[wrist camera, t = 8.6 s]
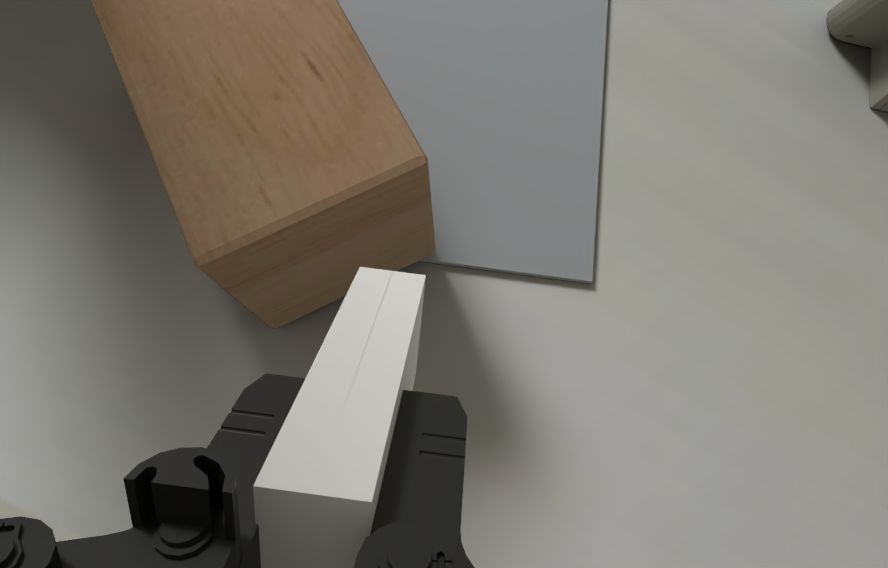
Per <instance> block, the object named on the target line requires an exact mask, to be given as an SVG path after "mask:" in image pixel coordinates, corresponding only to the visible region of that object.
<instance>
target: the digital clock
mask: <svg viewBox="0 0 888 568" xmlns="http://www.w3.org/2000/svg"><path fill="white" fill-rule="evenodd" d="M826 22H827V28H828V30H829V31H830V33H831V34H832V35H833V36H834V37H835V38H836V39H838V40H841V41H844V42H848V43H852V44H857V45H861V46H865V47H870V48H871V72H870V98H869V105H870V108H873V109H878V110H882V111H886V112H888V0H841V1H840V2H839V3H838V4H837V5H835V6H834V7H833V8H832V9H831V10H830V11H829V12H828V14H827V19H826Z"/></svg>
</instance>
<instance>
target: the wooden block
mask: <svg viewBox="0 0 888 568" xmlns="http://www.w3.org/2000/svg"><path fill="white" fill-rule="evenodd" d="M91 2H92V4H93V7H94V10H95V12H96V15H97V17H98V20H99V22H100V25H101V27H102V30H103V32H104V35H105V37H106V40H107V42H108V45H109V48H110V50H111V53H112V55H113V58H114V60H115V63H116V65H117V68H118V70H119V73H120V75H121V78H122V80H123V83H124V85H125V88H126V91H127V93H128V96H129V98H130V101H131V103H132V106H133V108H134V111H135V113H136V116H137V118H138V121H139V123H140V126H141V129H142V131H143V134H144V136H145V139H146V141H147V144H148V146H149V149H150V151H151V154H152V156H153V159H154V161H155V164H156V166H157V169H158V172H159V174H160V177H161V179H162V182H163V184H164V187H165V189H166V192H167V194H168V197H169V199H170V202H171V204H172V207H173V210H174V212H175V215H176V217H177V220H178V222H179V225H180V227H181V230H182V232H183V235H184V237H185V240H186V242H187V245H188V247H189V250H190V253H191V255H192V258H193V260H194V263H195V265H196V266H197V267H198V268H200V269H201V270H202V271H203V272H204V273H205V274H207V275H208V276H209V277H210V278H211V279H213V280H214V281H215V282H216V283H218V284H219V285H220V286H221V287H222V288H224V289H225V290H226V291H227V292H229V293H230V294H231V295H232V296H233V297H235V298H236V299H237V300H238V301H239V302H241V303H242V304H243V305H244V306H246V307H247V308H248V309H249V310H250V311H252V312H253V313H254V314H255V315H256V316H258V317H259V318H260V319H261V320H263V321H264V322H265V323H266V324H267V325H269V326H270V327H271V328H279V327H282V326H284V325H286V324H288V323H290V322H292V321H294V320H296V319H298V318H300V317H302V316H304V315H307V314H309V313H311V312H313V311H315V310H317V309H319V308H321V307H323V306H325V305H327V304H329V303H332V302H334V301H336V300H338V299H340V298H342V297H344V296H346V294H347V292H348V290H349V288H350V286H351V284H352V282H353V280H354V278H355V276H356V274H357V272H358V270H359V268H360V267H366V268H374V269H382V270H389V271H398V270H400V269H402V268H405V267H407V266H409V265H411V264H413V263H415V262H417V261H419V260H421V259H423V258H425V257H428V256H430V255H431V254H432V253H433V252H434V251H435V250H436V247H435V235H434V224H433V213H432V201H431V190H430V179H429V167H428V158H427V156H426V155H425V153H424V151H423V149H422V148H421V146H420V144H419V142H418V141H417V139H416V137H415V135H414V134H413V132H412V130H411V128H410V127H409V125H408V123H407V121H406V120H405V118H404V116H403V114H402V113H401V111H400V109H399V107H398V106H397V104H396V102H395V100H394V99H393V97H392V95H391V93H390V92H389V90H388V88H387V86H386V85H385V83H384V81H383V79H382V78H381V76H380V74H379V72H378V70H377V69H376V67H375V65H374V63H373V62H372V60H371V58H370V56H369V55H368V53H367V51H366V49H365V48H364V46H363V44H362V42H361V41H360V39H359V37H358V35H357V34H356V32H355V30H354V28H353V27H352V25H351V23H350V21H349V20H348V18H347V16H346V14H345V13H344V11H343V9H342V7H341V6H340V4H339V2H338V0H91Z"/></svg>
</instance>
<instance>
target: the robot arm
mask: <svg viewBox="0 0 888 568" xmlns="http://www.w3.org/2000/svg"><path fill="white" fill-rule="evenodd" d="M425 279H426V275H421V274H413V273H405V272H397V271H389V270H382V269H374V268H366V267H360V268H359V270H358V272H357V274H356V276H355V278H354V280H353V282H352V284H351V286H350V288H349V290H348V292H347V294H346V296H345V298H344V301H343V303H342V305H341V307H340V309H339V311H338V313H337V315H336V317H335V319H334V321H333V323H332V325H331V327H330V329H329V331H328V333H327V335H326V337H325V339H324V342H323V344H322V346H321V348H320V350H319V352H318V354H317V356H316V358H315V360H314V362H313V364H312V366H311V368H310V370H309V372H308V374H307V376H306V378H305V379H303V378H295V377H288V376H280V375H273V374H265V375H264V376H262V377H261V378H259V379H258V380H257V381H255V382H254V383H252V384H251V385H250V386H248V387H247V388H245V389H244V390H243V392H242V394H241V395H240V397H239V398H238V400H237V402H236V403H235V405H234V406H233V408H232V411H231V413H229V414H228V416H227V417H226V419H225V421H224V422H223V424H222V425H221V430H218V432H217V433H216V435H215V437H214V438H213V440H212V441H211V443H210V445H209V446H208V448H207V449H205V448H178V449H174V450H170V451H166V452H162V453H159V454H157V455H155V456H153V457H151V458H149V459H147V460H146V461H144V462H142V463H140V464H138V465H137V466H136V467H135V468H134V469H133V470H132V471H131V472H130V473H129V474H128V475H127V476H126V477H125V478H124V483H125V488H126V494H127V499H128V504H129V509H130V514H131V520H132V525H133V527H132V528H131V529H129V530H126V531H123V532H118V533H114V534H109V535H104V536H96V537H89V538H82V539H75V540H68V541H60V542H56V541H55V538H54V534H53V530H52V529H51V528H50V527H48V526H47V525H46V524H44V523H43V522H42V521H41V520H37V519H32V518H26V517H13V518H5V519H0V568H474V566H473V565H472V563H471V562H470V560H469V559H468V558H467V556H466V554H465V551H464V548H463V546H462V543H461V533H460V527H461V510H462V494H463V478H464V459H465V445H466V443H465V442H466V429H467V415H466V413H465V412H464V410H463V408H462V406H461V404H460V402H459V400H458V398H457V397H454V396H446V395H439V394H431V393H423V392H416V391H413V386H414V381H415V376H416V368H417V358H418V349H419V339H420V329H421V319H422V309H423V299H424V289H425Z"/></svg>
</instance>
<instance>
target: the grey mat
mask: <svg viewBox="0 0 888 568" xmlns="http://www.w3.org/2000/svg"><path fill="white" fill-rule="evenodd" d="M338 2H339V4H340V6H341V7H342V9H343V11H344V13H345V14H346V16H347V18H348V20H349V21H350V23H351V25H352V27H353V28H354V30H355V32H356V34H357V35H358V37H359V39H360V41H361V42H362V44H363V46H364V48H365V49H366V51H367V53H368V55H369V56H370V58H371V60H372V62H373V63H374V65H375V67H376V69H377V70H378V72H379V74H380V76H381V78H382V79H383V81H384V83H385V85H386V86H387V88H388V90H389V92H390V93H391V95H392V97H393V99H394V100H395V102H396V104H397V106H398V107H399V109H400V111H401V113H402V114H403V116H404V118H405V120H406V121H407V123H408V125H409V127H410V128H411V130H412V132H413V134H414V135H415V137H416V139H417V141H418V142H419V144H420V146H421V148H422V149H423V151H424V153H425V155H426V156H427V158H428V167H429V179H430V190H431V201H432V213H433V224H434V235H435V247H436V250H435V251H434V252H433V253H432V254H431V255H430V256H428V257H425V258H423V259H421V260H419V261H421V262H429V263H437V264H444V265H452V266H459V267H467V268H474V269H482V270H490V271H497V272H505V273H512V274H520V275H528V276H535V277H543V278H550V279H558V280H566V281H573V282H581V283H588V284H591V283H592V281H593V263H594V245H595V227H596V209H597V191H598V173H599V154H600V136H601V118H602V100H603V82H604V64H605V46H606V28H607V10H608V0H338Z"/></svg>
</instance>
